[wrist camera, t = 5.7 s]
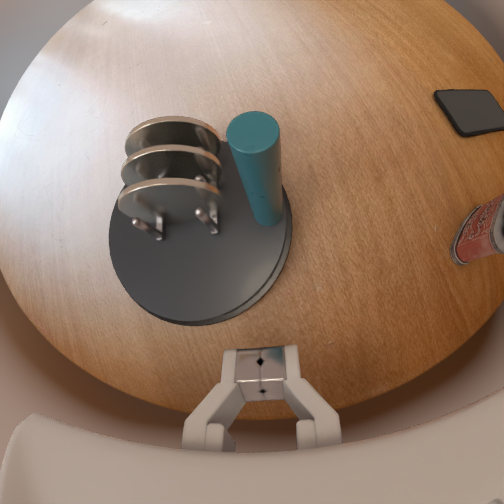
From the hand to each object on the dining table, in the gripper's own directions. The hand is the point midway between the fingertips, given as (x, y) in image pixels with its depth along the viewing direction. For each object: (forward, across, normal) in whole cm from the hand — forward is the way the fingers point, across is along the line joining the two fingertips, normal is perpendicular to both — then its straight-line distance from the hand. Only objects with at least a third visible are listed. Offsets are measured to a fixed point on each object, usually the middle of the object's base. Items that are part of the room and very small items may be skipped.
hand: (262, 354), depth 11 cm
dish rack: (+15, +6, +1) cm, 16 cm away
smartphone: (+25, -32, -8) cm, 41 cm away
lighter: (+13, -22, +5) cm, 26 cm away
